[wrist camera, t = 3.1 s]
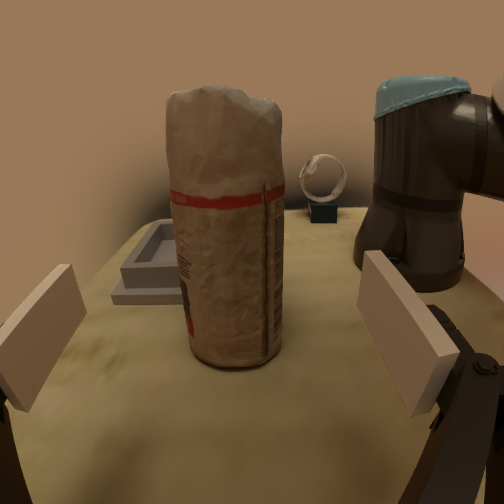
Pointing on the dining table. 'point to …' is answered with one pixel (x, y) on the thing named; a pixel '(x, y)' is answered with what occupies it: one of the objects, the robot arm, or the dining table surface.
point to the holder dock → (151, 270)
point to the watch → (321, 206)
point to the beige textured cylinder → (228, 221)
